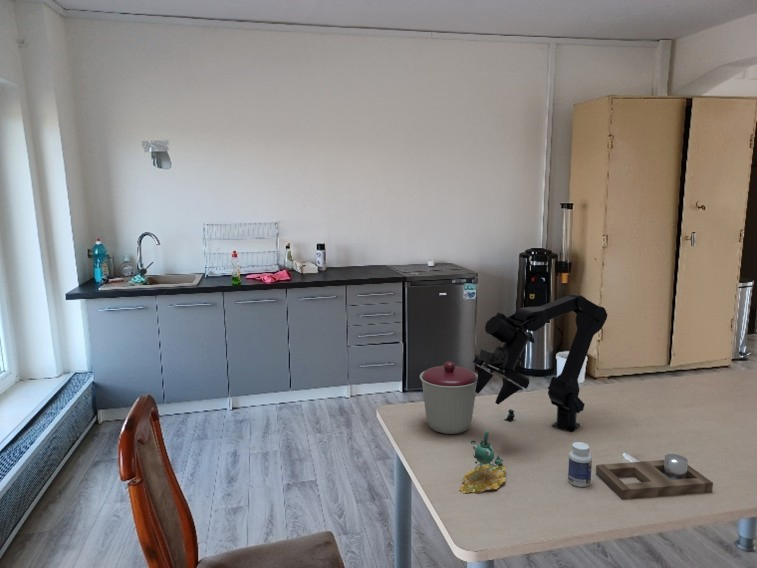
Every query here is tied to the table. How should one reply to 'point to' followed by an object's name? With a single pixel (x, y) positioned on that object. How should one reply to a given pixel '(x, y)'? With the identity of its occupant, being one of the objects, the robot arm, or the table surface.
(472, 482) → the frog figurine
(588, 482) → the pill bottle
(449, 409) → the canister
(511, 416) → the sculpture
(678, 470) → the steel peg
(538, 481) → the table surface
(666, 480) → the brown holder board
